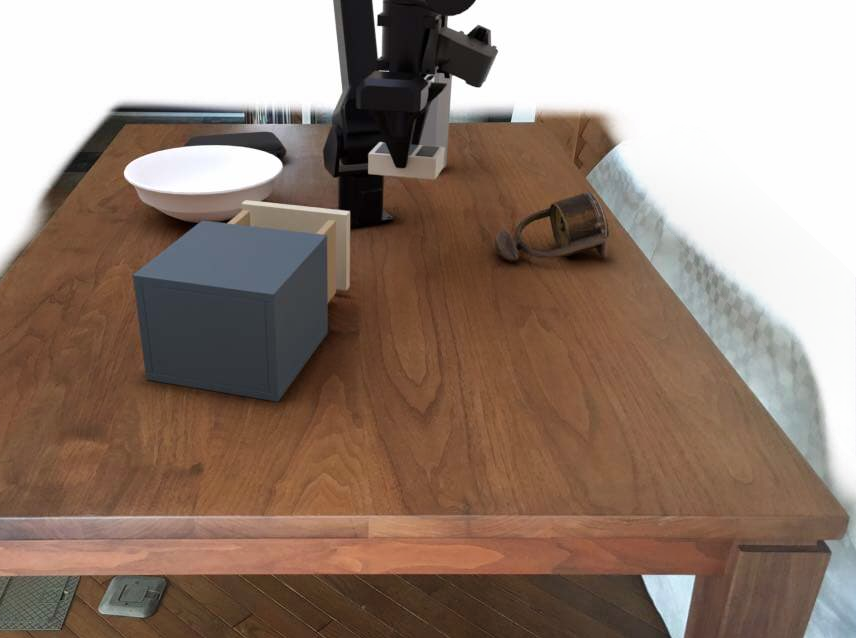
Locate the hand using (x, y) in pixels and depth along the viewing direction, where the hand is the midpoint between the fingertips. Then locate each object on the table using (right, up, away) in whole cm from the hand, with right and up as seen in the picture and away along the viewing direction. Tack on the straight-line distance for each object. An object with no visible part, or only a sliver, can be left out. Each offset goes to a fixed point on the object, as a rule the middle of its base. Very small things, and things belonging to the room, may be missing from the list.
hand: (406, 161), depth 95 cm
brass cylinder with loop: (+17, -8, +10) cm, 22 cm away
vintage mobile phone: (+6, +9, +38) cm, 39 cm away
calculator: (0, -1, +1) cm, 1 cm away
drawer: (-13, -15, -2) cm, 20 cm away
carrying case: (-22, +11, +41) cm, 48 cm away
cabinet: (-16, -21, -11) cm, 29 cm away
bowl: (-24, -2, +21) cm, 32 cm away
